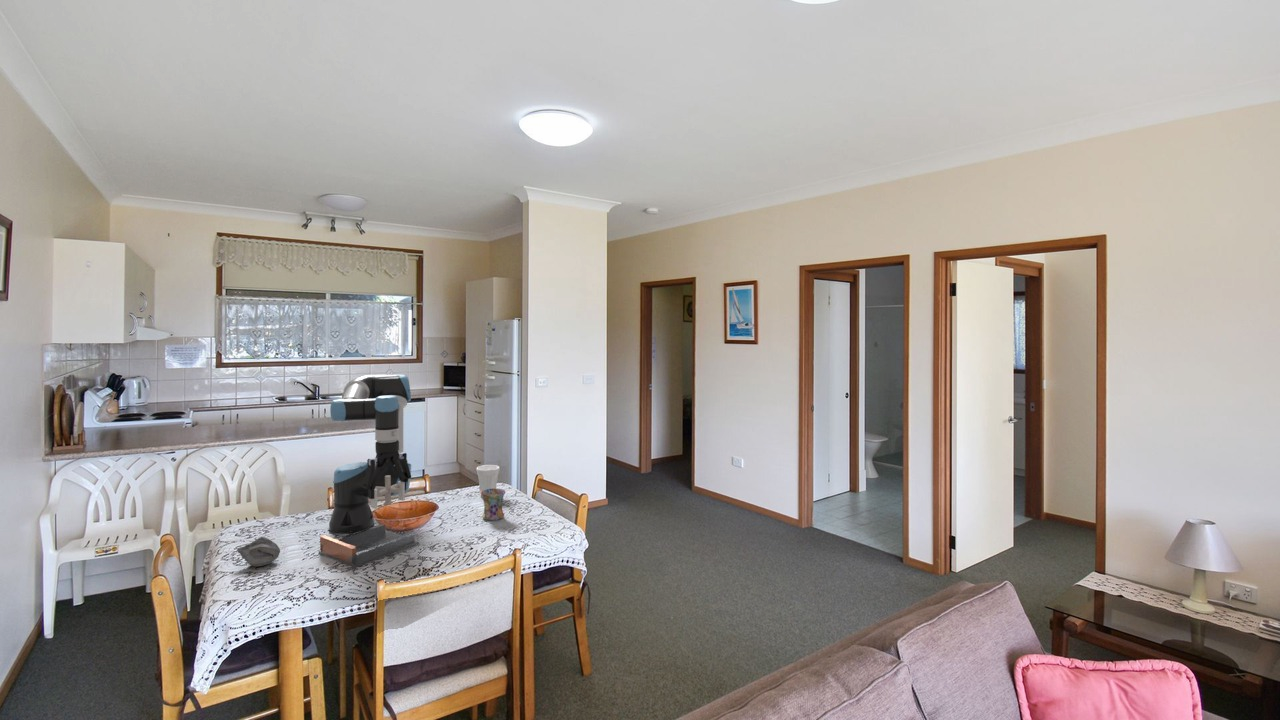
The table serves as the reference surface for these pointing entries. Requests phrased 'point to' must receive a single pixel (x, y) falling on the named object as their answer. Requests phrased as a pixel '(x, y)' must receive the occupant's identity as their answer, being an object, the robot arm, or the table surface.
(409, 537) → the guide channel
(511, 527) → the table surface
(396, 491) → the pipe connector
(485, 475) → the cup
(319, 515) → the table surface
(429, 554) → the table surface
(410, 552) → the table surface
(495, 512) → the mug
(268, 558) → the fossil
